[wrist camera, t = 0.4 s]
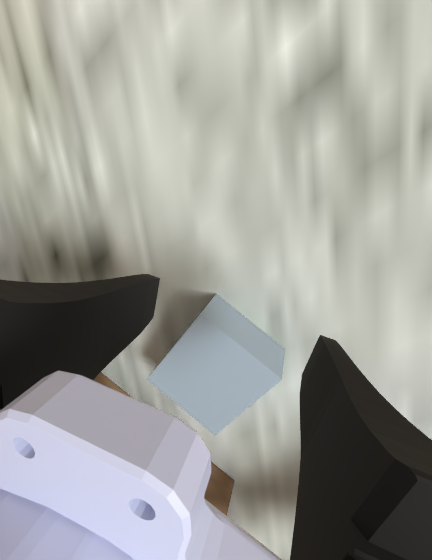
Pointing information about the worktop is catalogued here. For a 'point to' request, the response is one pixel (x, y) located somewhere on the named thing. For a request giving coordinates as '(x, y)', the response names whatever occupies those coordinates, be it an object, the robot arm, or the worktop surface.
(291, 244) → the worktop surface
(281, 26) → the worktop surface
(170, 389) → the slate block
